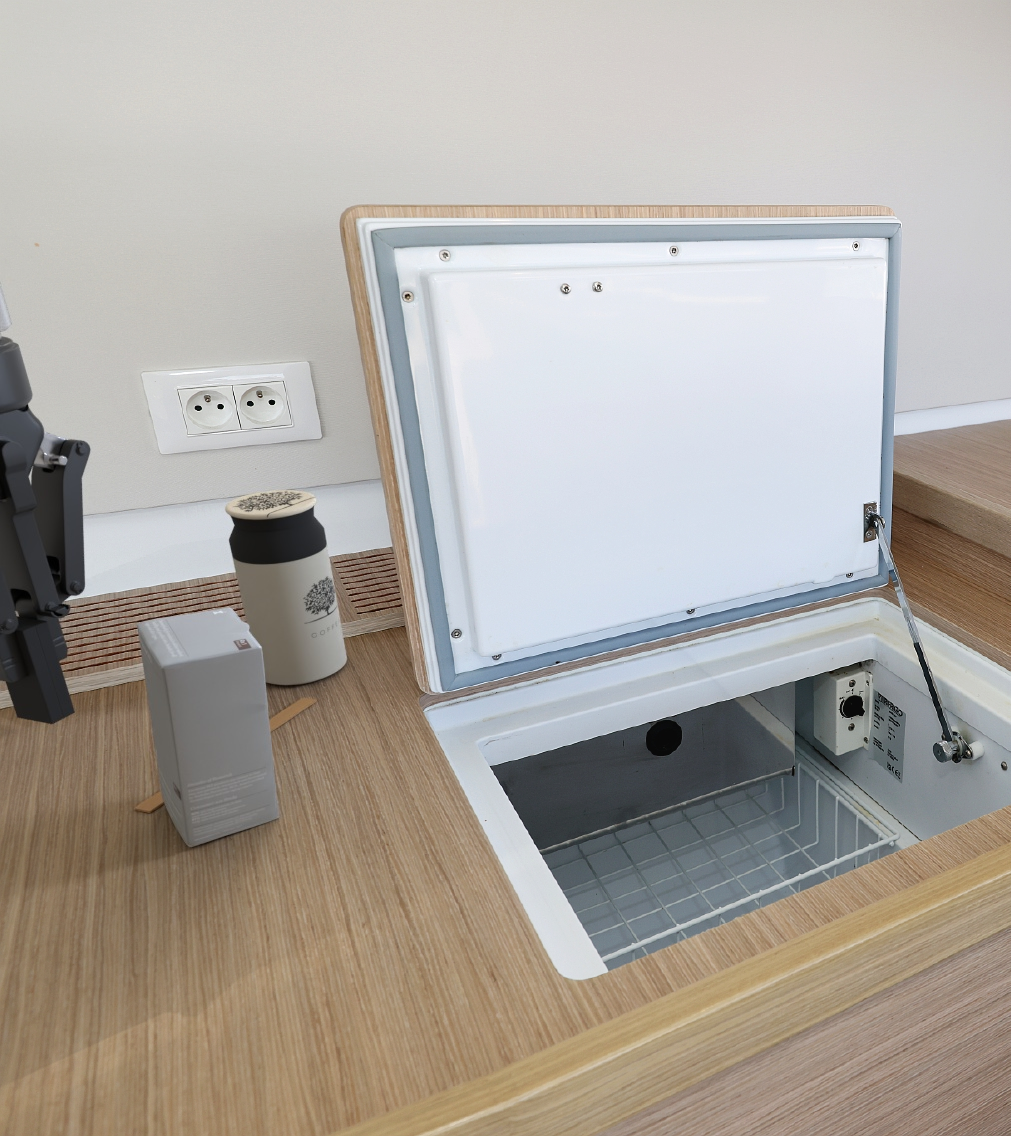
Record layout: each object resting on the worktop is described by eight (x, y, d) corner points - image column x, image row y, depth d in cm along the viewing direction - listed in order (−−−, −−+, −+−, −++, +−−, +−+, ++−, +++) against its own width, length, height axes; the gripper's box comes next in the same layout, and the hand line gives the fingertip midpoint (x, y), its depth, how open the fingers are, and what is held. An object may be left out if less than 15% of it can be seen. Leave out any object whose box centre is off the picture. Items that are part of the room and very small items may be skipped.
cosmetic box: (161, 801, 76) (120, 622, 70) (261, 769, 81) (231, 600, 75) (187, 854, 70) (145, 665, 65) (293, 817, 75) (263, 638, 69)
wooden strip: (134, 810, 75) (133, 807, 75) (303, 699, 91) (302, 697, 91) (150, 813, 75) (149, 811, 75) (316, 701, 91) (316, 699, 91)
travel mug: (240, 675, 95) (201, 505, 88) (311, 643, 101) (281, 483, 94) (294, 695, 92) (259, 521, 85) (364, 661, 98) (337, 497, 92)
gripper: (-165, 364, 45) (-14, 783, 54) (96, 328, 56) (184, 676, 65) (-284, 351, 46) (-118, 761, 55) (-5, 319, 58) (94, 660, 67)
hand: (46, 714), depth 60 cm, fingers closed
